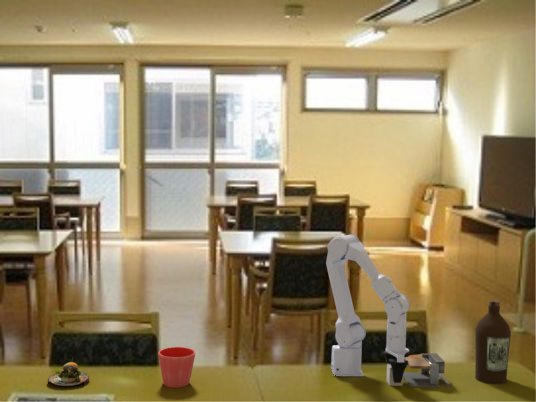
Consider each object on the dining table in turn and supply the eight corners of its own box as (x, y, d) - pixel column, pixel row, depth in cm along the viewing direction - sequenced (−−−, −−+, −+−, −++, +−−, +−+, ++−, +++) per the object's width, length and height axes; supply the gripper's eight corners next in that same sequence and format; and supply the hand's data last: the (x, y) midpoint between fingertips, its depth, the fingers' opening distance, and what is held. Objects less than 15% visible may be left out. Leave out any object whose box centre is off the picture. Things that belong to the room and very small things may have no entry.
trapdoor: (410, 373, 212) (410, 361, 212) (403, 364, 221) (404, 352, 221) (444, 373, 213) (444, 361, 212) (436, 364, 222) (436, 353, 221)
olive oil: (467, 374, 224) (471, 297, 222) (498, 373, 226) (502, 297, 224) (482, 385, 214) (485, 305, 212) (514, 384, 215) (518, 304, 213)
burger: (39, 385, 205) (39, 360, 205) (68, 374, 216) (68, 350, 215) (69, 392, 200) (70, 367, 199) (97, 381, 210) (98, 356, 210)
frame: (430, 386, 211) (431, 364, 211) (420, 374, 223) (421, 353, 223) (450, 386, 212) (451, 364, 211) (439, 374, 223) (440, 353, 223)
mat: (410, 387, 210) (410, 385, 210) (400, 373, 223) (400, 372, 223) (439, 387, 211) (439, 386, 211) (428, 373, 224) (428, 372, 224)
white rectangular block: (389, 385, 212) (389, 367, 211) (386, 381, 216) (386, 363, 215) (402, 385, 212) (403, 368, 211) (399, 381, 216) (400, 363, 216)
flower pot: (188, 391, 203) (188, 358, 202) (152, 387, 205) (153, 355, 204) (199, 379, 213) (199, 348, 212) (165, 376, 215) (165, 345, 215)
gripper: (415, 341, 206) (413, 386, 207) (403, 329, 220) (402, 371, 221) (391, 341, 205) (389, 386, 206) (381, 328, 220) (380, 371, 221)
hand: (394, 378), depth 214 cm, fingers open, 7 cm apart
